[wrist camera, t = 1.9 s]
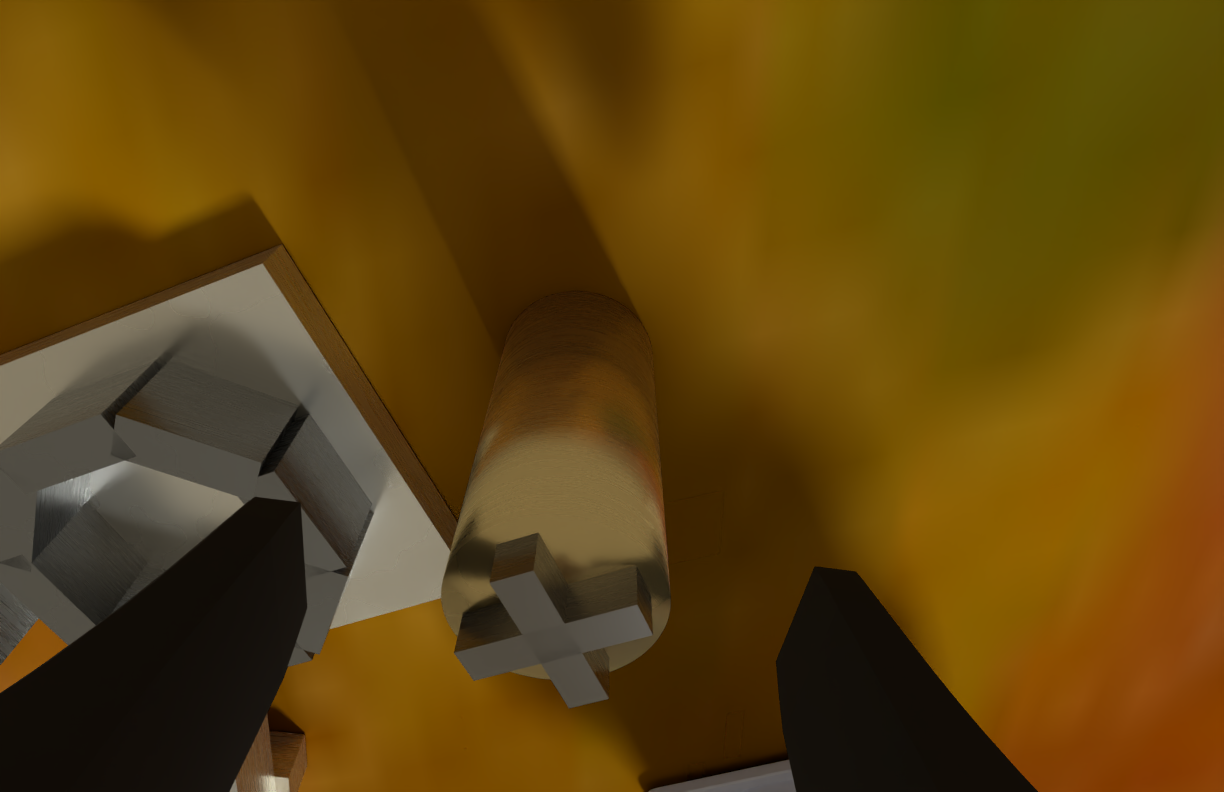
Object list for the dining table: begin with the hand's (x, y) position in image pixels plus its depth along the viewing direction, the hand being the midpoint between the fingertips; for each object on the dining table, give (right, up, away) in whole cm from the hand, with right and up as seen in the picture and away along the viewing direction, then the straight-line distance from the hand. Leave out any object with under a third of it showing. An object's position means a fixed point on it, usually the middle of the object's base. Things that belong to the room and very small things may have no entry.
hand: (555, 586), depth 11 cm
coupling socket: (-10, -3, +9) cm, 14 cm away
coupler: (0, +3, +6) cm, 7 cm away
